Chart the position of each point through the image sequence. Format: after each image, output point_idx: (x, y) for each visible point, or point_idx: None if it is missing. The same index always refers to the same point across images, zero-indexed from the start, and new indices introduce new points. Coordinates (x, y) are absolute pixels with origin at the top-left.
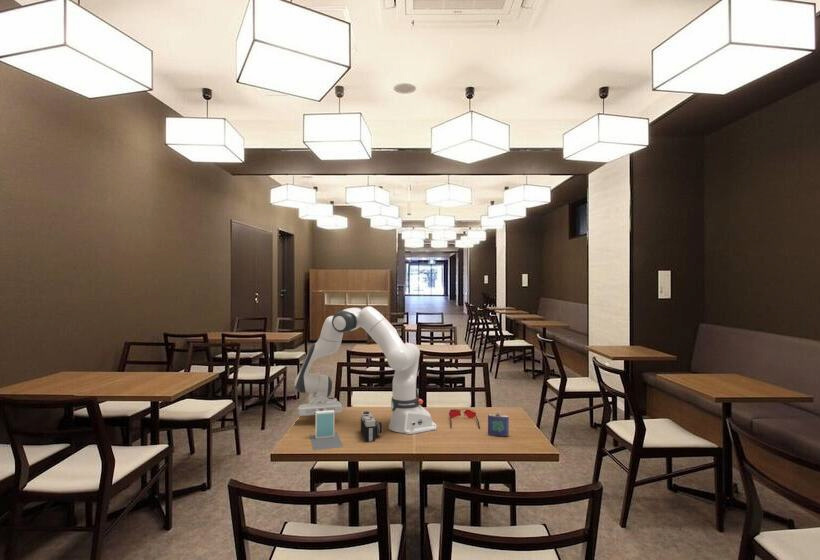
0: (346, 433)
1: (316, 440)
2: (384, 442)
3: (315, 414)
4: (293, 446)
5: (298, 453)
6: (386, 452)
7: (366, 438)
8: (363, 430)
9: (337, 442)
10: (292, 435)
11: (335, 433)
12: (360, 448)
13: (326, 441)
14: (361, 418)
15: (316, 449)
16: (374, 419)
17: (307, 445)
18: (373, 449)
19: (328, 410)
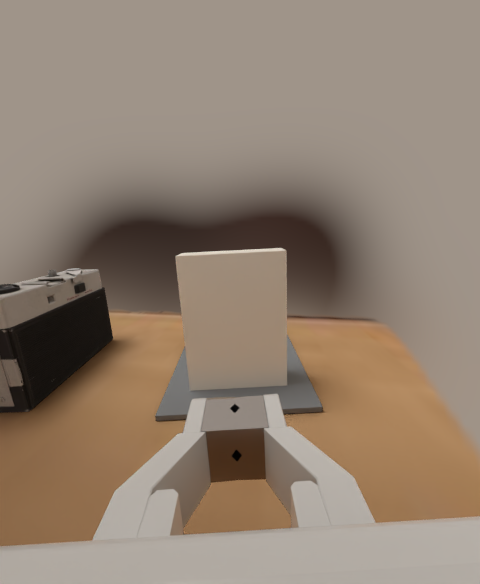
0: (109, 412)
1: None
2: None
3: (285, 267)
4: (357, 343)
5: (320, 319)
6: (110, 312)
7: (108, 326)
8: (77, 336)
9: None
10: (454, 434)
11: (172, 404)
12: (151, 324)
13: None
14: (25, 321)
15: None
16: (58, 273)
17: (306, 343)
18: (124, 320)
19: (208, 254)
